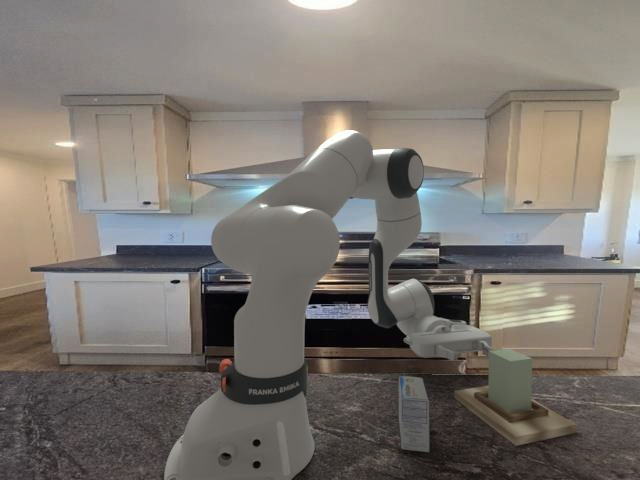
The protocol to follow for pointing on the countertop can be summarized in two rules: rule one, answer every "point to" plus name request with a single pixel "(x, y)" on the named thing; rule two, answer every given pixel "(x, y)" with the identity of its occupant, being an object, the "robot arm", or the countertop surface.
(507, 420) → the birch board
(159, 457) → the countertop surface
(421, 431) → the medicine box
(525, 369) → the sage block
